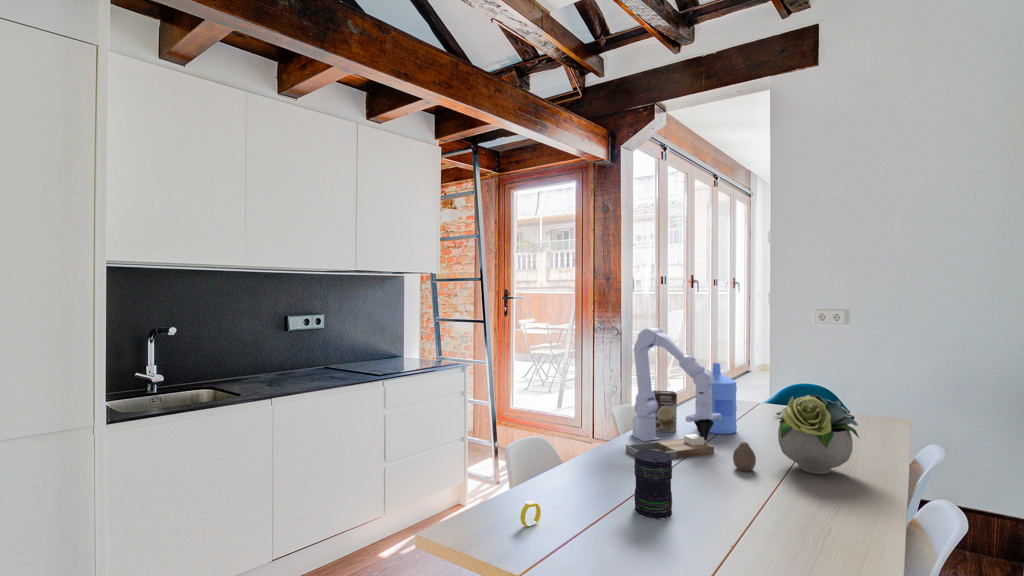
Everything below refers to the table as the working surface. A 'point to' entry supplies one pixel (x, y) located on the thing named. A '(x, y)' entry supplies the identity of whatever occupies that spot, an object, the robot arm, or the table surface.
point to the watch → (527, 504)
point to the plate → (685, 448)
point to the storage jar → (653, 484)
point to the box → (647, 448)
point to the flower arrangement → (816, 433)
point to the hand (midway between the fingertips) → (703, 439)
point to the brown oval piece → (744, 457)
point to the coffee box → (666, 411)
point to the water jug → (723, 402)
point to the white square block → (694, 439)
